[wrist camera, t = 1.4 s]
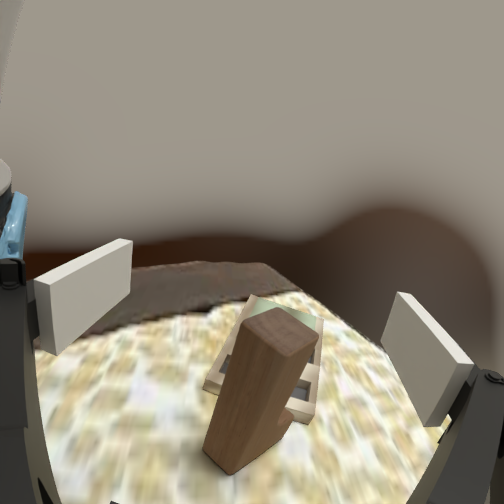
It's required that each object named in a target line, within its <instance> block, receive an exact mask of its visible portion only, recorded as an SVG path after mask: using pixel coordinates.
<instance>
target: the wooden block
mask: <svg viewBox="0 0 504 504" xmlns="http://www.w3.org/2000/svg"><path fill="white" fill-rule="evenodd" d="M318 339H319V334H318V333H317V332H315V331H314V330H312V329H311V328H310V327H308V326H307V325H305V324H304V323H302V322H301V321H299V320H298V319H296V318H295V317H293V316H292V315H290V314H289V313H288V312H286V311H285V310H283V309H282V308H279V307H275V308H273V309H270V310H267V311H265V312H262V313H260V314H257V315H255V316H252V317H249V318H247V319H244V320H243V321H242V323H241V324H240V328H239V331H238V334H237V338H236V341H235V344H234V347H233V351H232V354H231V357H230V360H229V364H228V367H227V370H226V373H225V377H224V380H223V383H222V386H221V390H220V393H219V396H218V399H217V403H216V406H215V409H214V412H213V415H212V419H211V422H210V425H209V428H208V431H207V435H206V438H205V441H204V444H203V447H202V448H203V450H204V451H205V452H206V454H207V455H208V456H209V457H210V458H211V459H212V460H214V461H215V462H216V463H217V464H218V465H219V466H220V467H221V468H222V469H223V470H224V471H225V472H226V473H227V474H228V475H232V474H234V473H235V472H237V471H238V470H240V469H241V468H242V467H244V466H245V465H247V464H248V463H250V462H251V461H252V460H254V459H255V458H256V457H258V456H259V455H260V454H262V453H263V452H264V451H266V450H267V449H268V448H270V447H271V446H272V445H274V444H275V443H276V442H277V441H279V440H280V439H281V438H282V437H283V436H284V434H285V433H286V431H287V429H288V428H289V426H290V424H291V423H292V421H293V419H294V415H293V414H292V413H291V412H290V411H288V410H287V409H286V408H285V406H286V404H287V402H288V400H289V398H290V396H291V394H292V392H293V391H294V389H295V387H296V385H297V383H298V381H299V379H300V377H301V375H302V373H303V371H304V369H305V367H306V365H307V363H308V360H309V358H310V356H311V354H312V352H313V350H314V348H315V346H316V344H317V342H318Z"/></svg>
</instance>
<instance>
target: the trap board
mask: <svg viewBox="0 0 504 504" xmlns="http://www.w3.org/2000/svg"><path fill="white" fill-rule="evenodd" d="M275 307H279V308H282V309H283V310H285V311H286V312H288V313H289V314H290V315H292V316H293V317H295V318H296V319H298V320H299V321H301V322H302V323H304V324H305V325H307V326H308V327H310V328H311V329H312V330H314V331H315V332H317V333H318V334H319V339H318V342H317V344H316V346H315V348H314V350H313V352H312V354H311V356H310V358H309V360H308V363H307V365H306V367H305V369H304V371H303V373H302V375H301V377H300V379H299V381H298V383H297V385H296V387H295V389H294V391H293V392H292V394H291V396H290V398H289V400H288V402H287V404H286V406H285V408H286V409H287V410H288V411H290V412H291V413H292V414H293V415H294V419H293V420H294V421H297V422H301V423H304V424H308V425H309V423H310V422H311V420H312V419H313V417H314V415H315V408H316V399H317V390H318V380H319V370H320V360H321V348H322V335H323V322H324V319H322V318H319V317H316V316H313V315H310V314H307V313H304V312H301V311H298V310H295V309H292V308H289V307H286V306H283V305H280V304H277V303H274V302H271V301H269V300H266V299H263V298H260V297H257V296H254V295H251V296H250V297H249V299H248V301H247V303H246V305H245V307H244V309H243V311H242V312H241V314H240V316H239V318H238V320H237V322H236V324H235V326H234V327H233V329H232V331H231V333H230V335H229V337H228V339H227V340H226V342H225V344H224V346H223V348H222V350H221V352H220V353H219V355H218V357H217V359H216V361H215V363H214V364H213V366H212V368H211V370H210V372H209V374H208V375H207V377H206V379H205V383H204V387H203V389H204V390H206V391H209V392H211V393H214V394H217V395H219V393H220V390H221V386H222V383H223V380H224V377H225V373H226V370H227V367H228V364H229V360H230V357H231V354H232V351H233V347H234V344H235V341H236V338H237V334H238V331H239V328H240V324H241V323H242V321H243V320H244V319H247V318H249V317H252V316H255V315H257V314H260V313H262V312H265V311H267V310H270V309H273V308H275Z"/></svg>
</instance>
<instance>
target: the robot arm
mask: <svg viewBox="0 0 504 504" xmlns="http://www.w3.org/2000/svg"><path fill="white" fill-rule="evenodd" d="M23 3H24V0H0V102H1V95H2V88H3V83H4V77H5V71H6V67H7V62H8V57H9V53H10V48H11V45H12V40H13V37H14V33H15V29H16V26H17V22H18V19H19V16H20V12H21V9H22V6H23ZM11 178H12V177H11V170H10V168H9V166H8V165H7V164H6V163H4V161H3V160H2V159H1V158H0V504H62V503H61V501H60V498H59V495H58V492H57V488H56V485H55V481H54V477H53V473H52V469H51V465H50V461H49V456H48V452H47V447H46V442H45V436H44V431H43V425H42V419H41V412H40V405H39V397H38V388H37V378H36V366H35V350H34V343H33V340H34V339H35V338H37V337H38V336H39V337H40V344H41V349H42V350H44V351H46V352H48V353H51V354H53V355H55V356H58V355H59V354H60V353H61V352H62V351H63V350H64V349H65V348H67V347H68V346H69V345H70V344H71V343H72V342H73V341H74V340H76V339H77V338H78V337H79V336H80V335H81V334H82V333H84V332H85V331H86V330H87V329H88V328H89V327H90V326H92V325H93V324H94V323H95V322H96V321H97V320H98V319H100V318H101V317H102V316H103V315H104V314H105V313H107V312H108V311H109V310H110V309H111V308H112V307H114V306H115V305H116V304H117V303H118V302H120V301H121V300H122V299H123V298H124V297H125V296H127V295H128V294H129V293H130V278H131V261H132V246H133V241H129V240H125V239H117V240H115V241H113V242H111V243H108V244H107V245H104V246H102V247H100V248H97V249H95V250H93V251H91V252H89V253H87V254H85V255H82V256H80V257H78V258H76V259H74V260H72V261H70V262H68V263H66V264H64V265H62V266H60V267H57V268H55V269H53V270H51V271H49V272H47V273H45V274H43V275H41V276H39V277H37V278H35V279H33V280H31V281H29V282H27V283H26V271H25V262H24V261H23V260H22V255H23V244H24V234H25V226H26V217H27V203H28V199H27V197H26V196H25V195H23V194H20V193H19V192H15V193H12V192H11ZM381 343H382V345H383V347H384V348H385V350H386V352H387V354H388V356H389V358H390V360H391V362H392V364H393V366H394V368H395V370H396V372H397V373H398V375H399V377H400V379H401V381H402V383H403V385H404V387H405V389H406V391H407V393H408V395H409V397H410V400H411V402H412V404H413V406H414V408H415V410H416V412H417V414H418V416H419V418H420V420H421V422H422V425H423V427H438V426H441V424H442V423H443V421H444V419H445V418H446V416H447V414H449V416H450V418H451V419H452V421H451V422H450V424H449V426H448V427H447V429H446V430H445V432H444V433H443V435H442V436H441V438H440V439H439V441H438V442H437V443H439V446H438V448H437V450H436V452H435V454H434V456H433V458H432V460H431V461H430V463H429V465H428V467H427V469H426V471H425V472H424V474H423V476H422V478H421V480H420V481H419V483H418V485H417V486H416V488H415V490H414V491H413V493H412V495H411V496H410V498H409V500H408V501H407V503H406V504H484V502H485V499H486V496H487V493H488V489H489V486H490V504H504V378H503V377H502V376H501V375H500V374H498V373H497V372H494V371H491V370H486V369H483V370H480V369H479V368H478V367H477V365H476V364H475V363H474V362H473V361H472V360H471V358H469V356H468V355H467V354H466V353H465V351H464V350H463V349H462V348H461V347H460V346H459V345H458V344H456V342H455V341H454V340H453V339H452V338H451V337H450V336H449V335H448V334H447V332H446V331H445V330H444V329H443V328H442V327H441V326H440V325H439V324H438V323H437V322H436V321H435V319H433V317H432V316H431V315H430V314H429V313H428V312H427V311H426V310H425V309H424V308H423V307H422V306H421V305H420V304H419V303H418V301H417V300H416V299H415V298H414V297H413V296H412V295H411V294H407V293H402V292H397V294H396V297H395V300H394V303H393V306H392V310H391V312H390V315H389V318H388V321H387V324H386V327H385V330H384V333H383V336H382V338H381ZM110 504H118V503H116V502H113V501H111V502H110Z"/></svg>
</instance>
